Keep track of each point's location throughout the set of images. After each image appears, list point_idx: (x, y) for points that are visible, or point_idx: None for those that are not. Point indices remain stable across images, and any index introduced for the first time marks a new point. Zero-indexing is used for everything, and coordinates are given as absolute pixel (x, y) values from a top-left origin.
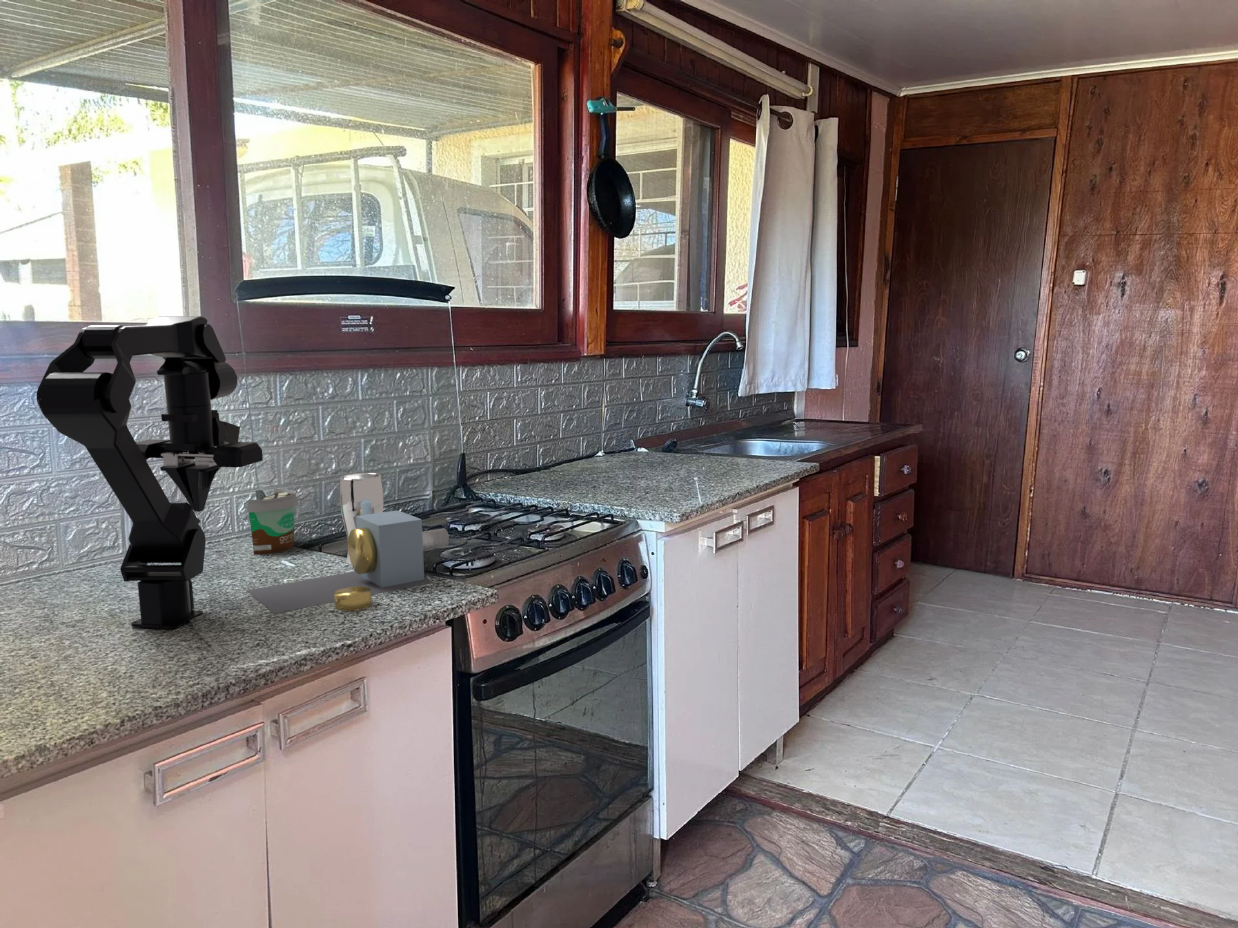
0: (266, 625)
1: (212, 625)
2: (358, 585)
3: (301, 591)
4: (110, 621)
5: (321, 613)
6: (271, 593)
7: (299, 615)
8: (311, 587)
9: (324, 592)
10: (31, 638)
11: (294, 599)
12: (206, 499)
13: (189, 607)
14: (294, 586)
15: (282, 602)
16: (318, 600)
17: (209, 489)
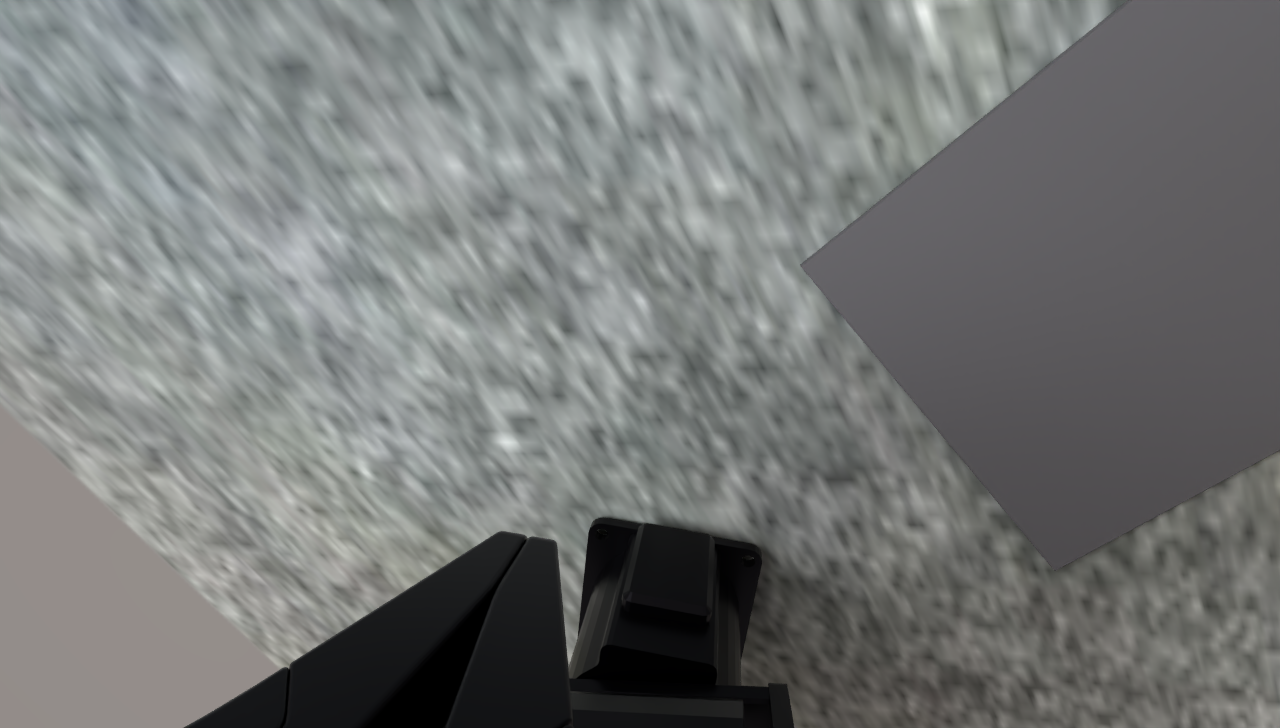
0: (1047, 647)
1: (843, 637)
2: None
3: (1101, 275)
4: None
5: (1251, 534)
6: (950, 311)
7: (1154, 554)
8: (1142, 202)
9: (1236, 289)
10: None
11: (1096, 398)
12: (563, 616)
13: (738, 621)
14: (1037, 188)
15: (1048, 440)
16: (1223, 411)
17: (569, 708)
